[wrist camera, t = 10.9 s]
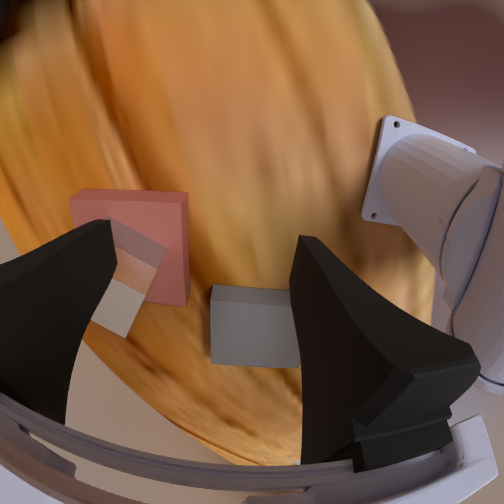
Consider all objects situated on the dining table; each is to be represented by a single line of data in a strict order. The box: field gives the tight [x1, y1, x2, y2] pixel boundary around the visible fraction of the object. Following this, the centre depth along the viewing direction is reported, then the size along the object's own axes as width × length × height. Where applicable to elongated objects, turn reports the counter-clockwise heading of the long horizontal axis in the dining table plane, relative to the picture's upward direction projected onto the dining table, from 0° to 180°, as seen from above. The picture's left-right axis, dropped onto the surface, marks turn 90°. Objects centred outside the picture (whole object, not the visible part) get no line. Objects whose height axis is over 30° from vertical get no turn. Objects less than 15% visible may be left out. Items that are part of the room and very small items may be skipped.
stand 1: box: [69, 189, 191, 307], centre depth 20 cm, size 9×9×2 cm
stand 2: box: [210, 284, 301, 368], centre depth 25 cm, size 9×9×2 cm
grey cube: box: [91, 215, 167, 338], centre depth 17 cm, size 5×5×5 cm
